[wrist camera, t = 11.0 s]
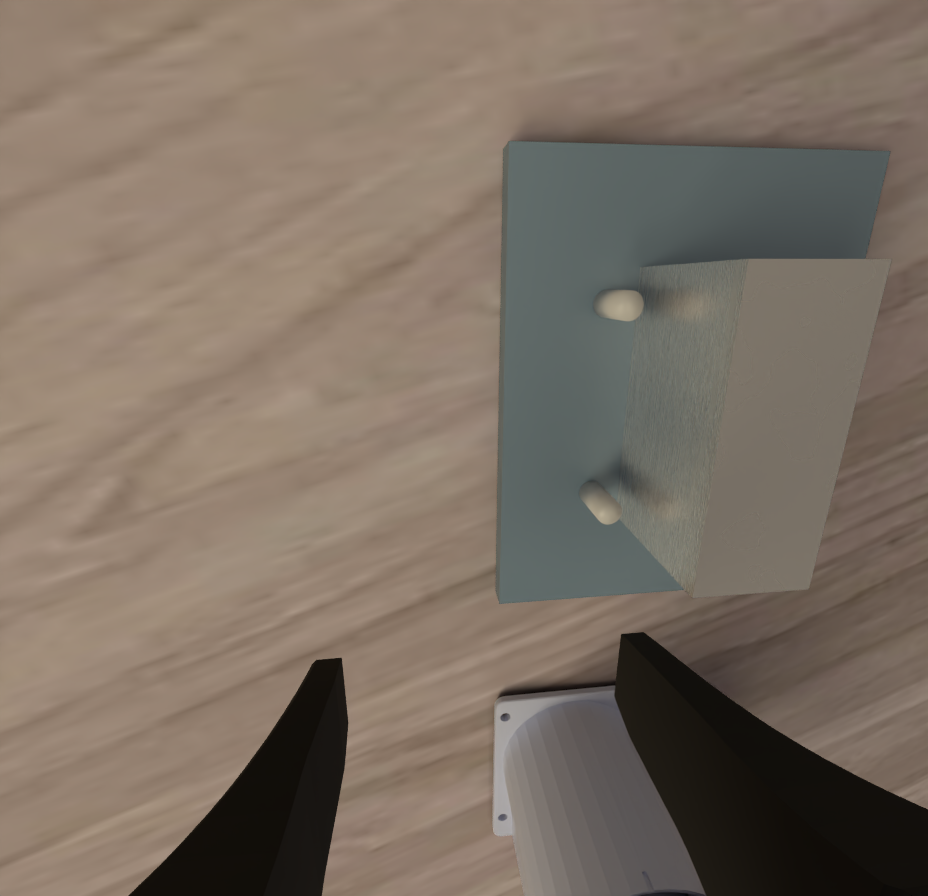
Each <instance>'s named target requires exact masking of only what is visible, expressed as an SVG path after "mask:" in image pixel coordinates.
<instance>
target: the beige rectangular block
mask: <svg viewBox="0 0 928 896" xmlns="http://www.w3.org/2000/svg"><path fill="white" fill-rule="evenodd" d="M891 261H892V259H739V260H726V261H713V262H700V263H688V264H675V265H662V266H649V267H641V268H640V278H639V288H638V293H640V295H641V296H642V298H643V301H644V307H643V311H642V313H641V314H640V316H639V317H638V318H636V319H635V327H634V337H633V346H632V356H631V366H630V376H629V386H628V395H627V405H626V415H625V425H624V434H623V444H622V454H621V464H620V474H619V483H618V493H617V502H618V503H619V504H620V505H621V508H622V514H621V517H620V518H619V519H620V520H621V521H622V522H623V524H624V525H625V526H626V527H627V528H628V529H629V530H630V531H631V532H632V533H633V534H634V535H635V537H636V538H637V539H638V540H639V541H640V542H641V543H642V544H643V545H644V546H645V547H646V549H647V550H648V551H649V552H650V553H651V554H652V555H653V556H654V557H655V558H656V559H657V560H658V562H659V563H660V564H661V565H662V566H663V567H664V568H665V569H666V570H667V571H668V572H669V574H670V575H671V576H672V577H673V578H674V579H675V580H676V581H677V582H678V583H679V584H680V585H681V587H682V588H683V589H684V590H685V591H686V592H687V593H688V594H689V595H690V596H691V597H692V598H702V597H715V596H728V595H741V594H754V593H767V592H780V591H794V590H807V589H809V587H810V583H811V579H812V575H813V571H814V567H815V563H816V559H817V555H818V551H819V547H820V543H821V539H822V535H823V531H824V527H825V523H826V519H827V515H828V511H829V507H830V503H831V499H832V495H833V491H834V487H835V483H836V479H837V475H838V471H839V467H840V463H841V459H842V455H843V451H844V447H845V444H846V440H847V436H848V432H849V428H850V424H851V420H852V416H853V412H854V408H855V404H856V400H857V396H858V392H859V388H860V384H861V380H862V376H863V372H864V368H865V364H866V360H867V356H868V352H869V348H870V344H871V340H872V336H873V332H874V328H875V324H876V320H877V316H878V312H879V308H880V304H881V300H882V296H883V292H884V288H885V285H886V281H887V277H888V273H889V269H890V265H891Z"/></svg>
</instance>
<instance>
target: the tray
mask: <svg viewBox="0 0 928 896" xmlns="http://www.w3.org/2000/svg"><path fill="white" fill-rule="evenodd" d="M889 156H890V151H866V150H828V149H791V148H753V147H715V146H677V145H639V144H601V143H564V142H526V141H509V142H508V143H507V145H506V146H505V147H504V149H503V195H502V252H501V309H500V366H499V423H498V480H497V537H496V594H497V597H498V601H499V604H504V603H517V602H531V601H544V600H557V599H570V598H583V597H597V596H610V595H623V594H636V593H649V592H663V591H676V590H684V589H683V588H682V587H681V585H680V584H679V583H678V582H677V581H676V580H675V579H674V578H673V577H672V576H671V575H670V574H669V572H668V571H667V570H666V569H665V568H664V567H663V566H662V565H661V564H660V563H659V562H658V560H657V559H656V558H655V557H654V556H653V555H652V554H651V553H650V552H649V551H648V550H647V549H646V547H645V546H644V545H643V544H642V543H641V542H640V541H639V540H638V539H637V538H636V537H635V535H634V534H633V533H632V532H631V531H630V530H629V529H628V528H627V527H626V526H625V525H624V524H623V522H622V521H621V520H620V519H619V518H620V517H621V514H622V508H621V505H620V504H619V503H618V502H617V493H618V483H619V474H620V464H621V454H622V444H623V434H624V425H625V415H626V405H627V395H628V386H629V376H630V366H631V356H632V346H633V337H634V327H635V319H636V318H638V317H639V316H640V314H641V313H642V311H643V307H644V301H643V298H642V296H641V295H640V293H638V288H639V278H640V268H641V267H649V266H662V265H675V264H688V263H700V262H713V261H726V260H739V259H865V258H866V254H867V249H868V245H869V241H870V237H871V232H872V228H873V224H874V219H875V215H876V211H877V207H878V202H879V198H880V194H881V190H882V185H883V181H884V177H885V173H886V168H887V164H888V160H889Z"/></svg>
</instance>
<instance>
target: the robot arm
mask: <svg viewBox="0 0 928 896" xmlns="http://www.w3.org/2000/svg"><path fill="white" fill-rule="evenodd" d="M505 713H507V714H506V715H502V714H505ZM347 732H348V715H347V705H346V696H345V686H344V676H343V666H342V658H334V659H322V660H316V661H315V662H314V663H313V664H312V666H311V667H310V669H309V671H308V673H307V675H306V677H305V678H304V680H303V682H302V684H301V685H300V687H299V689H298V691H297V692H296V694H295V696H294V697H293V699H292V700H291V702H290V704H289V705H288V707H287V708H286V710H285V712H284V713H283V715H282V716H281V718H280V719H279V721H278V722H277V724H276V725H275V727H274V728H273V730H272V731H271V733H270V734H269V736H268V737H267V739H266V740H265V741H264V743H263V744H262V746H261V747H260V748H259V750H258V751H257V752H256V754H255V755H254V757H253V758H252V759H251V761H250V762H249V763H248V765H247V766H246V767H245V769H244V770H243V771H242V773H241V774H240V775H239V777H238V778H237V779H236V780H235V782H234V783H233V784H232V785H231V787H230V788H229V789H228V790H227V792H226V793H225V794H224V795H223V796H222V798H221V799H220V800H219V801H218V802H217V804H216V805H215V806H214V807H213V808H212V810H211V811H210V812H209V813H208V814H207V815H206V816H205V818H204V819H203V820H202V821H201V822H200V823H199V824H198V825H197V826H196V827H195V829H194V830H193V831H192V832H191V833H190V834H189V835H188V836H187V837H186V838H185V840H184V841H183V842H182V843H181V844H180V845H179V846H178V847H177V848H176V849H175V850H174V851H173V852H172V853H171V854H170V855H169V856H168V858H167V859H166V860H165V861H164V862H163V863H162V864H161V865H160V866H159V867H158V868H157V869H155V870H154V871H153V872H152V873H151V874H150V875H149V876H148V877H147V878H146V879H145V880H144V881H143V882H142V883H141V884H140V885H139V886H138V887H137V888H136V889H135V890H134V891H133V892H132V893H131V894H130V895H129V896H322V890H323V883H324V876H325V871H326V865H327V860H328V854H329V849H330V844H331V838H332V833H333V828H334V822H335V817H336V811H337V806H338V801H339V795H340V790H341V784H342V779H343V773H344V767H345V756H346V745H347ZM492 826H493V832H494V834H495V835H497V836H508V835H512V836H513V841H514V846H515V852H516V857H517V862H518V867H519V872H520V877H521V882H522V887H523V892H524V896H928V809H926V808H923V807H921V806H919V805H917V804H914V803H912V802H910V801H908V800H906V799H904V798H901V797H899V796H897V795H895V794H893V793H891V792H888V791H886V790H884V789H882V788H880V787H878V786H876V785H874V784H872V783H870V782H868V781H866V780H864V779H862V778H860V777H858V776H856V775H854V774H852V773H850V772H849V771H847V770H845V769H843V768H841V767H839V766H837V765H835V764H833V763H832V762H830V761H828V760H826V759H824V758H822V757H821V756H819V755H817V754H815V753H814V752H812V751H810V750H808V749H806V748H805V747H803V746H801V745H800V744H798V743H797V742H795V741H793V740H792V739H790V738H788V737H787V736H785V735H783V734H782V733H780V732H778V731H777V730H775V729H774V728H772V727H771V726H769V725H767V724H766V723H764V722H763V721H761V720H760V719H758V718H757V717H755V716H754V715H752V714H751V713H750V712H748V711H747V710H745V709H744V708H742V707H741V706H739V705H738V704H737V703H735V702H734V701H732V700H731V699H730V698H728V697H727V696H725V695H724V694H723V693H721V692H720V691H719V690H717V689H716V688H715V687H713V686H712V685H711V684H709V683H708V682H707V681H705V680H704V679H703V678H701V677H700V676H699V675H697V674H696V673H695V672H694V671H692V670H691V669H690V668H688V667H687V666H686V665H685V664H683V663H682V662H681V661H680V660H678V659H677V658H676V657H675V656H673V655H672V654H671V653H670V652H668V651H667V650H666V649H664V648H663V647H662V646H661V645H659V644H658V643H657V642H656V641H654V640H653V639H652V638H650V637H649V636H648V635H646V634H645V633H644V632H641V633H629V634H621V641H620V650H619V658H618V667H617V676H616V684H615V685H614V686H604V687H594V688H583V689H573V690H562V691H552V692H541V693H531V694H521V695H510V696H503V697H500V698H498V699H497V700H496V702H495V705H494V759H493V813H492Z"/></svg>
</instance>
